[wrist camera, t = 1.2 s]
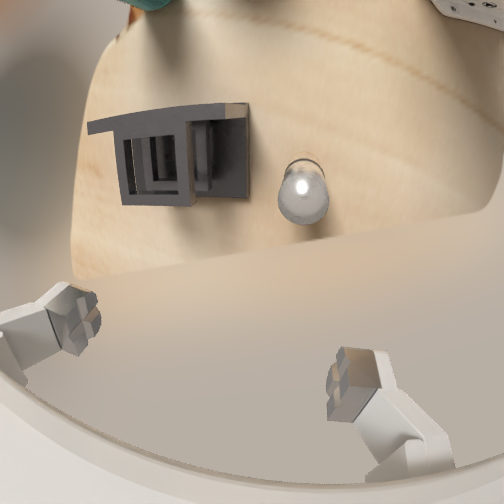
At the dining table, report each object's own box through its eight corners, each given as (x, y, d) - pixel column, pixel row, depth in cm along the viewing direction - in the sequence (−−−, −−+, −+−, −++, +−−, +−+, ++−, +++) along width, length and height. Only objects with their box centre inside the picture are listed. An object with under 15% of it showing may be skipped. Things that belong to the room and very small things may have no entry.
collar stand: (248, 103, 31) (225, 99, 22) (249, 194, 37) (228, 225, 28) (135, 113, 34) (86, 119, 25) (142, 192, 39) (100, 219, 30)
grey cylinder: (322, 152, 32) (332, 177, 20) (320, 184, 34) (327, 227, 22) (288, 150, 33) (277, 173, 21) (287, 182, 35) (276, 224, 23)
